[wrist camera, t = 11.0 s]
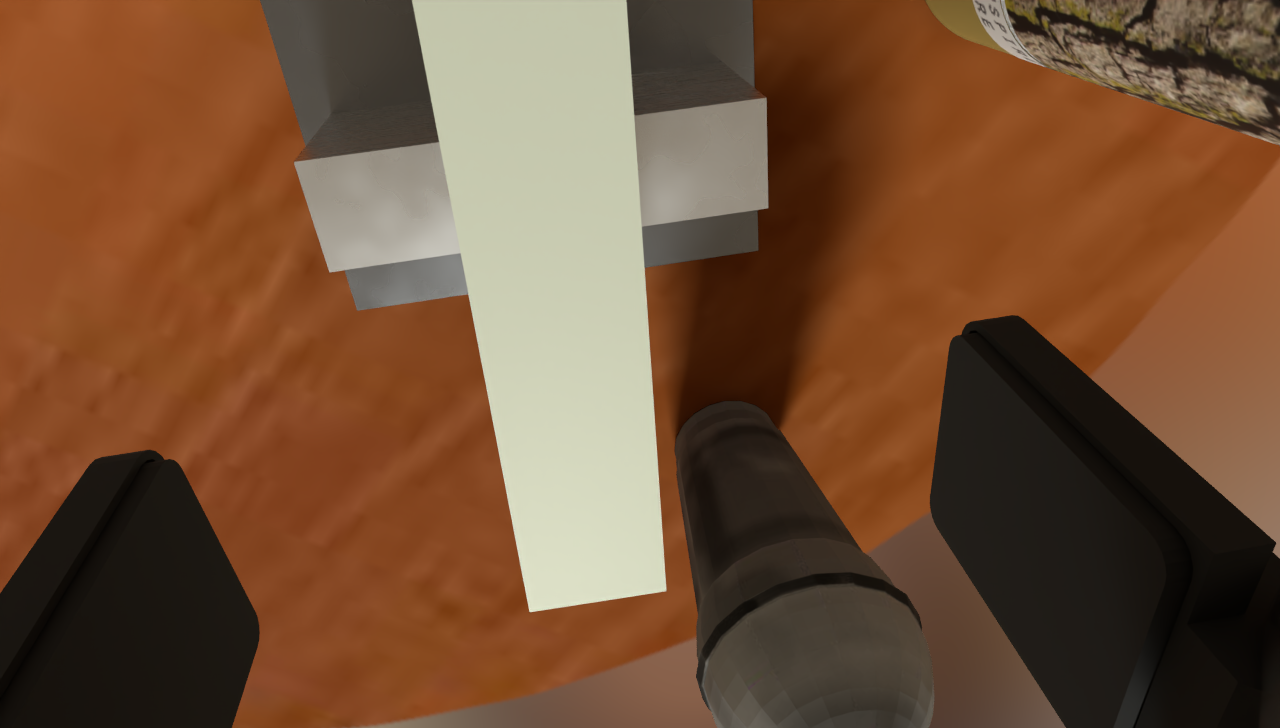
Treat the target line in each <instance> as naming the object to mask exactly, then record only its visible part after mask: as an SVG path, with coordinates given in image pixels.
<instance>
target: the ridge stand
mask: <svg viewBox="0 0 1280 728" xmlns="http://www.w3.org/2000/svg"><path fill="white" fill-rule="evenodd" d="M260 1H261V4H262V8H263V11H264V14H265V17H266V20H267V24H268V27H269V30H270V33H271V36H272V40H273V43H274V46H275V49H276V52H277V56H278V59H279V62H280V65H281V68H282V71H283V75H284V78H285V81H286V84H287V87H288V91H289V94H290V97H291V100H292V103H293V107H294V110H295V113H296V116H297V119H298V123H299V126H300V129H301V132H302V135H303V139H304V142H305V145H306V147H305V148H304V149H303V151H302V152H301V153H300V155H299V156H298V157H297V158H296V160H295V161H294V164H295V167H296V170H297V173H298V176H299V180H300V183H301V186H302V189H303V192H304V195H305V198H306V201H307V204H308V207H309V210H310V214H311V217H312V220H313V223H314V226H315V229H316V232H317V235H318V238H319V241H320V244H321V247H322V251H323V254H324V257H325V260H326V263H327V266H328V269H329V272H335V271H342V270H345V273H346V276H347V279H348V282H349V286H350V289H351V292H352V295H353V298H354V302H355V305H356V308H357V311H358V310H365V309H371V308H378V307H385V306H391V305H398V304H405V303H411V302H418V301H425V300H431V299H438V298H445V297H452V296H458V295H465V294H468V289H467V284H466V279H465V273H464V268H463V263H462V258H461V253H460V247H459V242H458V237H457V232H456V227H455V221H454V216H453V211H452V206H451V201H450V195H449V190H448V185H447V180H446V175H445V169H444V164H443V159H442V154H441V149H440V143H439V138H438V133H437V128H436V123H435V117H434V112H433V107H432V102H431V97H430V91H429V86H428V81H427V76H426V71H425V65H424V60H423V55H422V50H421V45H420V39H419V34H418V29H417V24H416V19H415V13H414V8H413V3H412V0H260ZM626 2H627V17H628V32H629V46H630V61H631V76H632V91H633V106H634V120H635V135H636V150H637V165H638V180H639V195H640V209H641V224H642V239H643V254H644V268H645V267H652V266H659V265H665V264H672V263H679V262H686V261H692V260H699V259H706V258H712V257H719V256H726V255H732V254H739V253H746V252H752V251H758V211H757V210H760V209H767V208H768V157H767V98H766V97H765V96H764V95H763V94H761V93H760V92H759V91H758V90H756V89H755V85H754V44H753V2H752V0H626Z"/></svg>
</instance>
